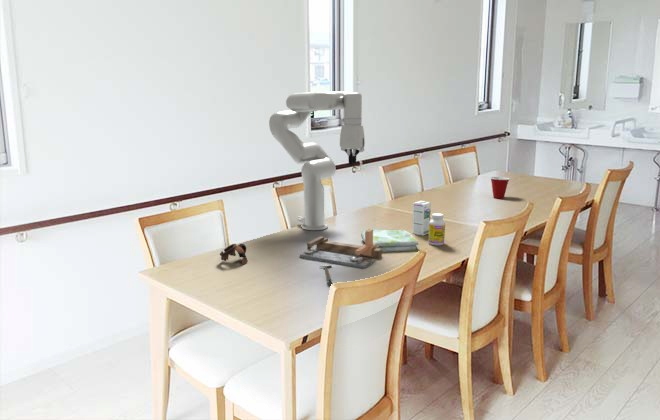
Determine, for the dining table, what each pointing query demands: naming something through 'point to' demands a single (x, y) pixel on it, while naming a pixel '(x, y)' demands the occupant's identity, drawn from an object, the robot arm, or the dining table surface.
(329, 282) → the tactical tomahawk
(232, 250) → the brown arched piece
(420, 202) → the syrup box
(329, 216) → the dining table surface
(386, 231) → the towel
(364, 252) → the sliding leg
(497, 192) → the plastic cup
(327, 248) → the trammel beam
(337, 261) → the steel strip
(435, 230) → the supplement bottle
